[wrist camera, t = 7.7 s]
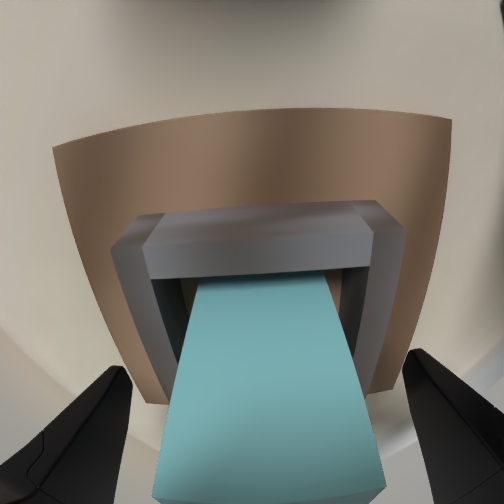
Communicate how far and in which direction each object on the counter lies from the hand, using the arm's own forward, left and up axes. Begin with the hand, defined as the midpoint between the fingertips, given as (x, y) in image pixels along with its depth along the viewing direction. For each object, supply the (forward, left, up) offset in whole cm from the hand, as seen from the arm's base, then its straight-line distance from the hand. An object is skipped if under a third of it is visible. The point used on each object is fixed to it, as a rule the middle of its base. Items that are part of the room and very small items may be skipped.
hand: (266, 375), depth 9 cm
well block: (0, 0, -4) cm, 4 cm away
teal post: (0, 0, -4) cm, 4 cm away
